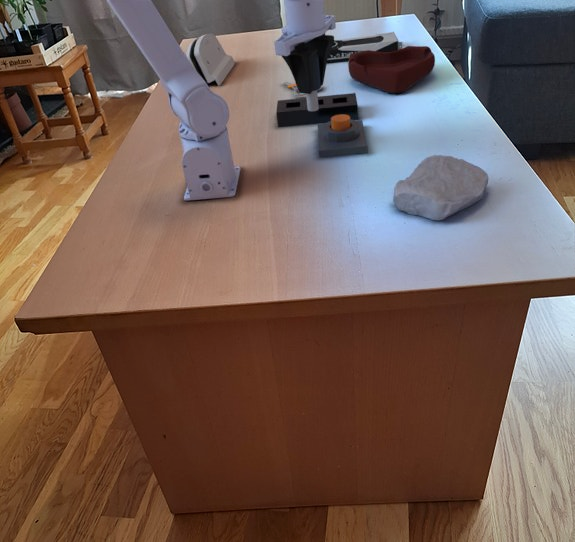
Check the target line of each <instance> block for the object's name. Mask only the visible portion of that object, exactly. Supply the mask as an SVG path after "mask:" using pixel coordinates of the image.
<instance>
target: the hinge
mask: <svg viewBox="0 0 575 542" xmlns="http://www.w3.org/2000/svg"><path fill="white" fill-rule="evenodd" d="M185 55H186V57H187V59H188V60H189V62H190V63H191V65H192V66H193V67H194V69H195V70H196V71H197V72H198V73H199V75H200V76H201V77H202V78H203V80H204V81H205V82H206V84H210V83H212V82H214V81H215V82H216V84H217V86H218V87H219V86H221V85H222V83H223V82H224V80H225V79H226V77H227V76H228V75H229V73H230V71H231V70H232V69H233V67H234V66H235V64H236V62H235V60H234V58H233V56H232V55H228V54H227V53H226V51H225V50H224V47H223V46H222V44H221V43H220V41H219V40H218V38H217V36H216V35H215V34H214V33H206V34H202V35H200V36H199V37H196V38H195V39H194V40H193V41H192V42H191V43H189V44H188V47H187V49H186V53H185Z"/></svg>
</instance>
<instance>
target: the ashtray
mask: <svg viewBox="0 0 575 542" xmlns="http://www.w3.org/2000/svg"><path fill="white" fill-rule="evenodd" d="M347 62H348V63H347V67H348V72H349V75H350V77H351V78H352V80H353V81H356V82H358V83H360V84H364V85H368V86H370V87H373V88H375V89H377V90H380V91H383V92H386V93H388V94H389V95H400V94H403V93H404V92H405V91H407V90H408V89H410V88H411V87H412V86H414V85H416V84H417V83H418V82H419V81H421V80H422V79H423V78H425V77H427V76H428V75H429V74H430V73H432V71H433V70H434V68H435V65H436V56H435V54H434V52H432V49H431V48H430V46H426V45H418V46H416V45H408V46H405V47H402V49H399V50H397V51H393V52H378V51H371V50H366V51H363V52H359V53H354V54H351V55H350V56H349V61H347Z"/></svg>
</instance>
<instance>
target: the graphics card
mask: <svg viewBox="0 0 575 542" xmlns="http://www.w3.org/2000/svg"><path fill="white" fill-rule="evenodd" d="M402 48H403V41H399V39H398V37H397V35H396V33H395V31H391V32H385V33H377V34H374V35H368V36H359V37H351V38H342V39H334V43H333V46H332V48H331V50H330V53H329V56H328V60H327V64H328V63H329V64H331V63H339V62H349V56H350V55H351V54H354V53H359V52H363V51H366V50H371V51H378V52H393V51H397V50H399V49H402Z"/></svg>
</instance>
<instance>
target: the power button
mask: <svg viewBox="0 0 575 542" xmlns="http://www.w3.org/2000/svg"><path fill="white" fill-rule="evenodd" d="M331 127H332V129H333V130H338V131H339V130H346V129H349V128H350V116H348V115H344V114H340V115H335V116H333V117H332V118H331Z"/></svg>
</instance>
